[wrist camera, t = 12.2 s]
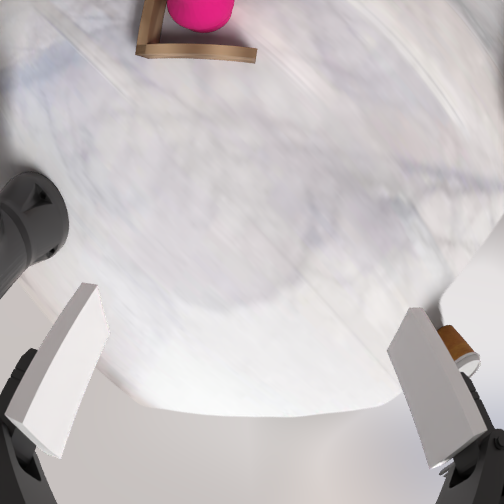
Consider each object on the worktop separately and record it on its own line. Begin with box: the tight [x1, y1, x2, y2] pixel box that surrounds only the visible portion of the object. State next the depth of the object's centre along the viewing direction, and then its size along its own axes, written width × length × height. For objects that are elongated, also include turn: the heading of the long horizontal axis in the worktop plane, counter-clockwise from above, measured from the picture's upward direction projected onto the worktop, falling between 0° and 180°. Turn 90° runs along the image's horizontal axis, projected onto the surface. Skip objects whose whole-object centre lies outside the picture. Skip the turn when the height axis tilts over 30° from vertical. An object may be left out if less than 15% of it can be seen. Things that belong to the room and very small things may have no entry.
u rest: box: [135, 0, 257, 63], centre depth 24 cm, size 13×13×4 cm
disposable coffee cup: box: [437, 325, 481, 378], centre depth 48 cm, size 10×10×12 cm
